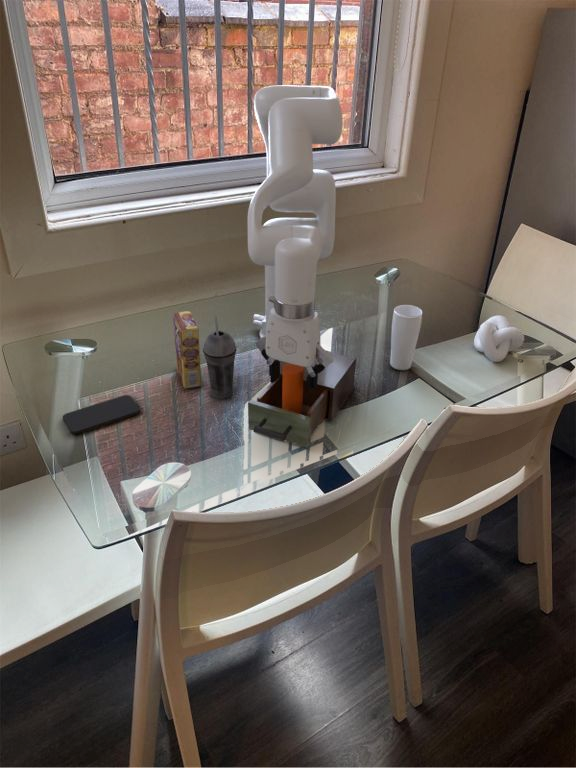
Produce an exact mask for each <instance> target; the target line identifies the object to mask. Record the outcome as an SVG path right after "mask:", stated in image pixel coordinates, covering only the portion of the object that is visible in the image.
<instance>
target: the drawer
mask: <svg viewBox="0 0 576 768" xmlns="http://www.w3.org/2000/svg"><path fill="white" fill-rule="evenodd" d="M282 379H283V378H282V377H279V378H278V379H277V380H276V381H275V382H274V383H271V382H270V383H269V384H268V385H267V386H266V387H265V388H264V390H263V391H261V393H260V394H259V395H258V396H257V397H256V400H254V399H250V400H249V401H247V409H248V410H247V412H248V413H247V415H248V416H247V417H248V419H247V421H248V430H250V431H253V432H254V433H255V434H259V435H261V436H262V435H263V436H266V437H269V438H272V439H275V440H278V441H281V442H288V443H290V444H291V443H292V444H294V445H297V446H301V447H304V448H307V449H308V448H309V447H310V445H311V437H312V436H313V435H314V433H315V432H316V431H317V429H318V428H319V426H320V425H321V424H322V422H323V421H324V418H325V416H326V415H327V413H328V409H329V394H330V391H329V390H326V389H322V388H318V387H316V388H313V389H312V391H311V392H310V393H307V392H306V384H304V383H303V400H302V415H301V414H298V413H294V412H291V411H288V410H284V409H282Z"/></svg>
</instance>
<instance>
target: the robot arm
mask: <svg viewBox="0 0 576 768" xmlns="http://www.w3.org/2000/svg"><path fill="white" fill-rule="evenodd" d="M253 105H254V114H255V119H256V122H257V125H258V127H259V130H260V133H261V135H262V138H263V142H264V145H265V151H266V178H265V179H264V181H263V182H262V183H261V184H260V185H259V187H258V188H257V189H256V190H255V192H254V194H253V196H252V198H251V200H250V202H249V206H248V210H247V251H248V252H247V253H248V256H249V259H250V261H251V262H252V263H253V264H255V265H257V266H261V267H262V266H263V267H264V280H265V281H264V287H265V288H264V298H265V299H264V300H265V301H264V302H265V303H264V304H265V305H264V306H265V310H264V311H265V312H264V313H265V315H261V314H257V313H254V315H253V317H252V325H253V326H257V327H260V330H259V339H258V340H257V341H256V342H255V347H257V349H258V351H259V352H260V354H261V356H262V357H263V358H264V360H265V361H266V365H268V376H269V381H270V383H274V382H275V381H276V380H277V379H278V378H279V377H280V361H283V362H287V363H290V364H294V365H298V366H302V367H306V368H307V370H308V372H309V374H308V375H307V381H306V392H307V393H310V392H311V391H312V389H313V388H316V386H317V378H318V373H320V372H321V371H323V370H324V369H325V368H326V367H328V366H329V365H330V364H331V363H332V361H333V358H332V357H331V356H330V355H329V354H328V353H327V352H326V351H327V350H326V351H325V348H323V346H321V345H322V344H321V327H320V319H319V315H318V314H319V313H318V312H317V311H315V310H316V290H317V289H316V288H317V287H316V286H317V284H316V283H317V269H318V268H317V267H318V263H319V260H320V259H326V258H329V257H330V256H331V255H332V254H333V252H334V247H335V239H336V238H335V237H336V236H335V235H336V233H335V232H336V208H337V207H336V205H337V201H336V200H337V196H336V195H337V188H336V187H337V186H336V181H335V178H334V176H333V174H332V173H331V172H330V171H329V170H325V169H314V157H313V145H335V144H336V143H338V142H339V141H340V138H341V136H342V132H343V127H344V126H343V125H344V124H343V123H344V122H343V121H344V119H343V118H344V117H343V110H342V106H341V103H340V100H339V98H338V95H337V93H336V91H335V89H333V88H332V87H331V86H326V85H291V84H289V85H288V84H287V85H286V84H283V85H280V84H278V85H269V86H264V87H261V88H259V89H258V90H257V91H256V93H255V95H254V99H253ZM268 206H269V208H270V209H271V210H273V211H274V212H281V213H312V214H314V215H315V217H276V218H271V219H269V220H267V221H266V222H265V223H264V224H262V221H263V219H262V218H263V214H264V212H265V210H266V209H267V208H268ZM317 357H320V358H321V359H322V360H323V362H321V363H320V364H318V362H317V360H316V358H317Z"/></svg>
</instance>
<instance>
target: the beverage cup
mask: <svg viewBox="0 0 576 768" xmlns="http://www.w3.org/2000/svg"><path fill="white" fill-rule="evenodd" d="M214 324H215V325H214V326H215V331H213V332H211V333H210V334H209V335H208V336H206V339H205V341H204V342H203V348H202V352H203V356H204V359H205V361H206V367H207V374H208V380H209V386H210V391H211V395H212V396H213V397H214V398H216V399H219V400H224V399H228V398H230V397H231V396H232V394H233V388H234V387H233V386H234V371H235V358H236V354H237V350H238V349H237V346H236V341H235V339H234V338H233V336H231V334H229V333H228V332H226V331H223V330H219V324H218V317H217V315H216V316H214Z"/></svg>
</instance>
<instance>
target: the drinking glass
mask: <svg viewBox="0 0 576 768" xmlns="http://www.w3.org/2000/svg"><path fill="white" fill-rule="evenodd" d="M422 323H423V310H422V309H421V308H419V307H418V306H416V305H411V304H400V305H397V306H395V307H394V308H393V314H392V319H391V332H390V333H391V335H390V359H389V365H390V366H391V368H393V369H394V370H397V371H408V370H410V369H411V368H412V367H413V361H414V355H415V351H416V348H417V344H418V340H419V336H420V333H421V328H422Z"/></svg>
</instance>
